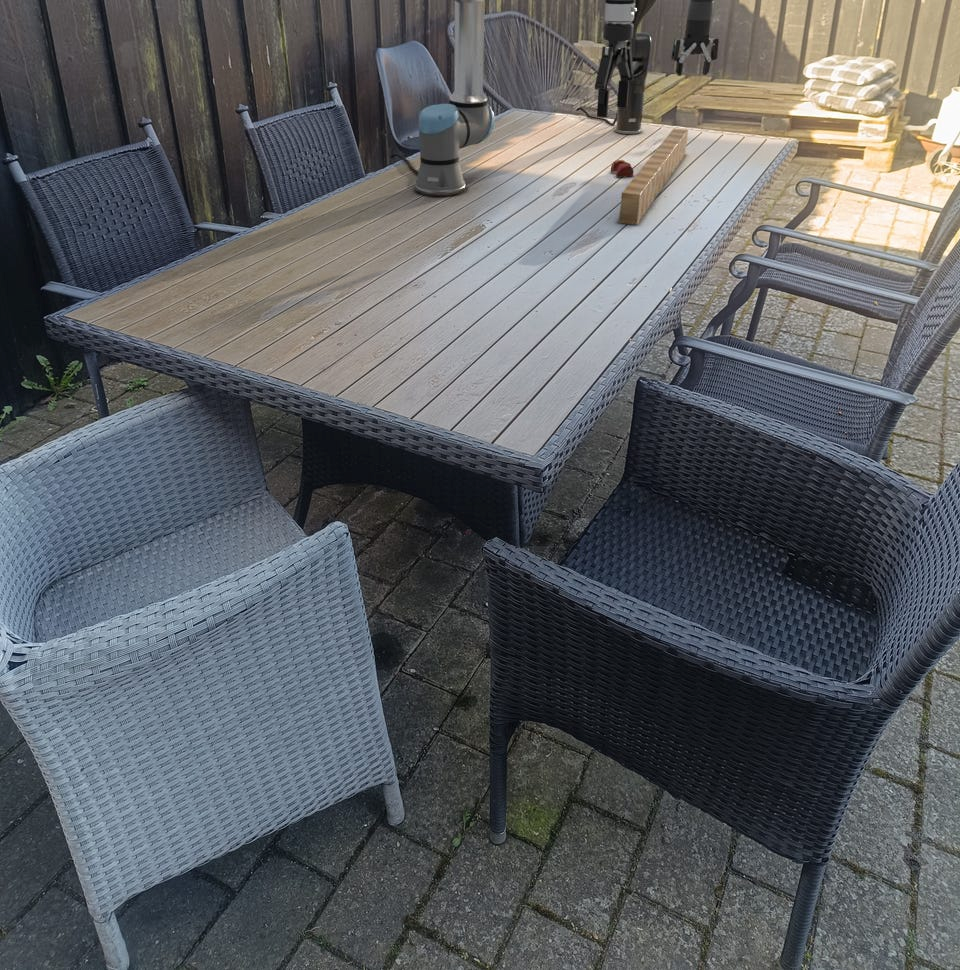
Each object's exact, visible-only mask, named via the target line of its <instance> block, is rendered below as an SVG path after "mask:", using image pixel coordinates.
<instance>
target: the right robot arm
mask: <svg viewBox="0 0 960 970" xmlns="http://www.w3.org/2000/svg"><path fill="white" fill-rule="evenodd" d="M657 2H658V0H635V8H636V12H635V13H634V20H633V21H631V23H633V25H634V27H633V38H632V39H631V40H630V41H631V42H632V43H631V53H632V63H633V81H629V92H628V104H627V108H623V107H617V112H615V118H614V120H613V121H612V122H610V121H609V119H607V118H605V117H597V116H593V115H590V114H589V113H588V111H587V110H585V109H584V108H583V107H582V106H581V107H578V108H576V109H575V111H576V112H578V111H582V112H583V113H584V114H585V116H586V117H587V118H589V119H591V120H592V119H593V120H598V121H603V122H606V123H607V124H608V125H609V126H615V132H616V133H618V134H623V135H637V134H640V133H641V132H642V120H643V111H644V103H645V102H644V101H645V93H646V92H645V90H646V83H647V77H648V72H649V65H650V60H651V59H650V58H651V53H652V38H651V35H650V34H649V32H638V29H639V27H640V24H641V23H642V21H643V20H644V18H645V17H646V16H647V15H648V14H649V12H650V11H651V10H652V9H653V7H654V6H655V5H656V3H657ZM714 2H715V0H689V5H688V9H687V17H686V24H685V31H684V32H685V34H684V38H682V39H679V38H675V39H674V40H673V44H672V45H673V46H672V51H671V57H670V58H671V60H672V61H674V62H676V67H675V74H676V75H677V76H678V77H682V75H683V68H684V67H683V66H684V61H685V59H687V58H688V57H689V56H690V55H692V56H693V55H702V57H703V59H704V61H703V67H702V75H703V76H707V75H708V74H709V72H710V67H711V62H712V61H715V60H717V59H718V53H719V42H720V41H719V38H717V37H712V38H710V34H711V29H712V23H713V22H712V21H713V16H714V4H715V3H714ZM682 45H683V46H684V47H683V49H682V50H681V51H680V48H681V47H682ZM709 45H710V46H711V47H710V53H709V50H708V49H707V47H708V46H709ZM629 72H630V71H629ZM619 81H622V80H621V78H620V77H619Z"/></svg>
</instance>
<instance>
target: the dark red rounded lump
mask: <svg viewBox="0 0 960 970" xmlns="http://www.w3.org/2000/svg"><path fill="white" fill-rule="evenodd" d="M610 173H615V176H616V177H619V178H621V177H631V176H632V177H633V176H634V169H633V167H632V165H631V163H629V162H627V161H625V160H623V159H618V160H615V161H613V162H612V163H611V166H610Z"/></svg>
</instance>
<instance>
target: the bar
mask: <svg viewBox="0 0 960 970" xmlns="http://www.w3.org/2000/svg"><path fill="white" fill-rule="evenodd" d="M688 134H689V129H686V128H685V129H683V128H673V129H672V130H671V131H670V133H669V134H668V135H666V137H665V139H664V140H662V142H661V143H660V145H659V146H658V147H657V149H656V150H655V151H654V152H653V153H652V155H651V156H650V157H649V158H648V160H646V162H645V163H644V165H643V166H642V167H641V169H640V170H639V171H638V172H637V173H636V175H635V176H634V177H633V178H632V180H631V181H630V182H629V183H628V184H627V186H626V187H625V188H624V189H623V191H622V192H621V197H620V208H619V219H618V223H619V224H625V225H633V226H634V225H635V226H637V225H638V224H639V222H640V221H641V219H642V218H643V217H644V216H645V214H646V212H647V211H648V209H649V208H650V207H651V205H652V204H653V202H654V200H655V199H656V198H657V196H658V194H660V192H661V190H662V189H663V188H664V186H665V184H666V183H667V182H668V180H669V178H670V177H671V175H672V174H673V173H674V171H675V170H676V169H677V167H678V165H679V164H680V163H681V161H682V160H683V159H684V157H685V155H686V149H687V141H688Z"/></svg>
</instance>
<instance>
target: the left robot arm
mask: <svg viewBox="0 0 960 970" xmlns="http://www.w3.org/2000/svg"><path fill="white" fill-rule="evenodd" d="M485 1H486V0H453V3H454V4H453V7H454V8H453V10H454V12H453V13H454V14H453V15H454V17H453V20H454V21H453V22H454V25H453V26H454V27H453V28H454V29H453V30H454V31H453V33H454V43H453V44H454V46H453V47H454V49H453V50H454V53H453V54H454V56H453V57H454V63H453V65H454V66H453V69H454V81H453V83H454V86H453V87H454V89H453V93H452V94H451V95H450V96H449V103H438V104H431V105H428V106H426V107H424V108H423V109H422V110H421V111H420V112H419V114H418V115H419V116H418V126H417V127H418V137H419V138H418V139H419V157H420V158H419V159H420V161H419V162H420V164H419V168H418V170H417V169H416V168H414V166H412V164H411V162H410V160H408V159H407V158H405V157H404V156H403V155H401V154H399V153H392V154H391V155H390V158H392V159H393V158H394V157H398V158H399V159H401V160H402V161H404V162H406V164H407V165H408V167H409V169H411V171H413V172H414V173H415V174H417V176H416V180H415V183H414V184H415V185H414V186H415V192H417V193H418V194H420V195H424V196H430V197H450V196H455V195H459V194H461V193H463V192H464V191H466V181H465V179H464V176H463V172H462V169H461V165H460V149H463V148H467V147H470V146H474V145H479V144H480V143H482V142H484V141H486V140H487V139H488V138H489V137H490V136H491V135H492V133H493V131H494V128H495V123H496V117H495V113H494V110H492V106H491V105H490V104H489V102H488V101H489V97H488V96H487V95H486V94H485V92H484V57H485V56H484V55H485V53H484V49H485V48H484V47H485V45H484V44H485V3H486V2H485ZM635 12H636V8H635V0H605V3H604V15H603V20H604V22H605V23H604V24H603V31H602V32H603V34H602V38H603V40H605V41H608V44H607V45H606V46H602V50H601V58H600V61H599V66H598V71H597V75H596V79H595V83H594V90H597V91H598V92H597V93H598V94H597V107H596V117H599V118H608V115H609V100H610V89H609V87H610V84H611V80H612V79H613V74H614V72H615V69H616V67H617V71H618V73H619V79H620V78H621V80H622V81H620V80H618V89H617V100H616V103H617V104H616V107H617V108H618V107H623V108H627V104H628V92H629V81H633V66H634V63H633V62H632V53H631V43H632V42H631V41H630V40H631V39H632V38H633V27H634V25H633V23H631V21H633V20H634V13H635ZM629 71H630V72H629Z"/></svg>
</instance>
